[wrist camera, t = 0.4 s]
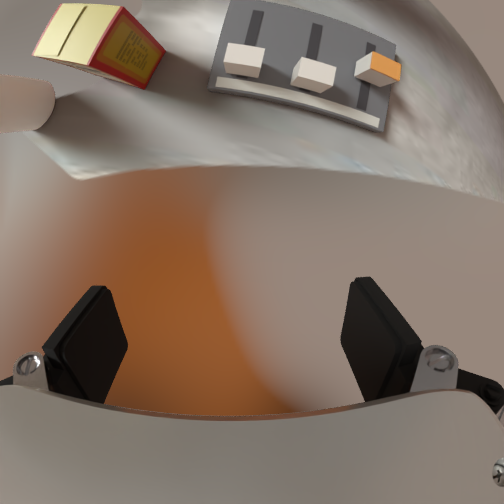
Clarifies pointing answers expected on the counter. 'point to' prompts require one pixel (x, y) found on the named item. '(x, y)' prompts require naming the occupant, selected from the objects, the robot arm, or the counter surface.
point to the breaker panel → (290, 52)
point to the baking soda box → (101, 43)
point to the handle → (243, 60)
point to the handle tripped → (377, 69)
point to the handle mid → (313, 75)
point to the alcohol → (24, 103)
